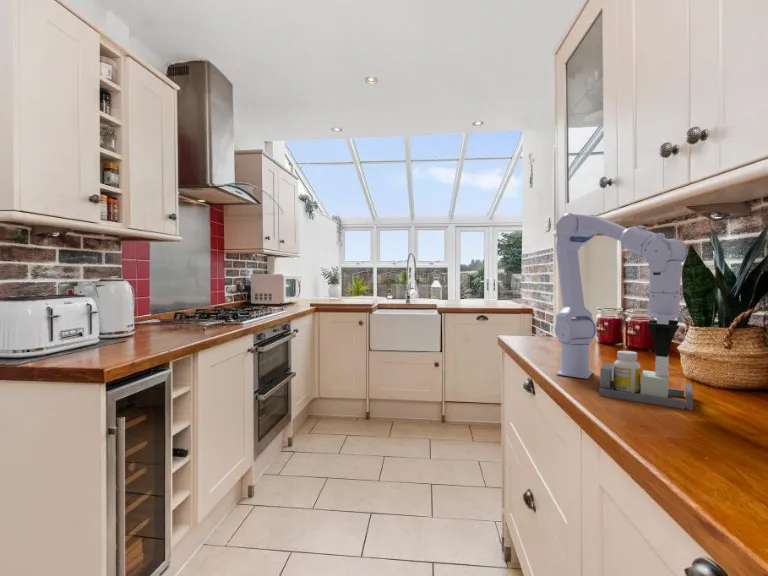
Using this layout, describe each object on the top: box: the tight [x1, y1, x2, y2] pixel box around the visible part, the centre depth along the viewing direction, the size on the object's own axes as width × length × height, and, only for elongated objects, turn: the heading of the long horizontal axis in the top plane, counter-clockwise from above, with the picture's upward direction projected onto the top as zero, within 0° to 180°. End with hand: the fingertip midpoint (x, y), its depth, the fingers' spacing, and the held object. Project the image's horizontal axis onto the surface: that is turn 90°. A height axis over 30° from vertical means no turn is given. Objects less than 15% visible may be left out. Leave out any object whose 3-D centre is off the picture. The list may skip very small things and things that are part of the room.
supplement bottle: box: [613, 350, 641, 394], centre depth 97 cm, size 5×5×10 cm
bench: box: [598, 362, 694, 411], centre depth 95 cm, size 11×17×6 cm, turn 55°
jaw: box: [640, 354, 670, 398], centre depth 94 cm, size 7×5×10 cm
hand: (662, 353), depth 93 cm, fingers open, 7 cm apart
